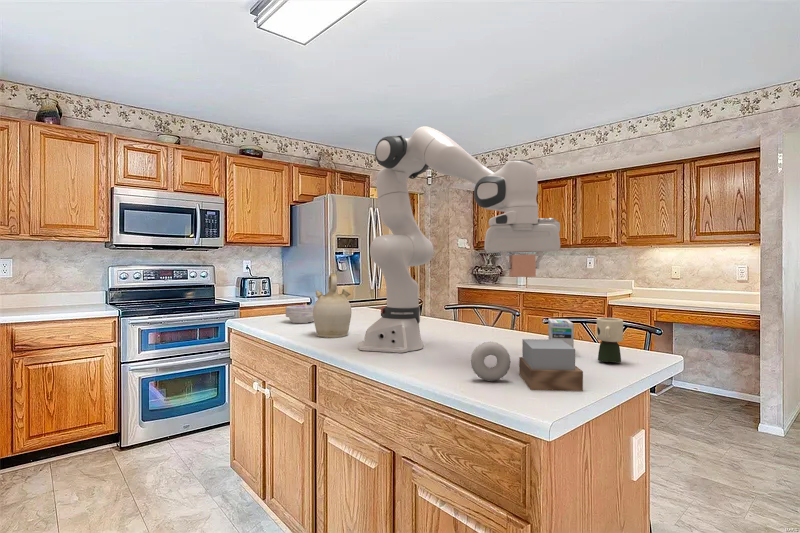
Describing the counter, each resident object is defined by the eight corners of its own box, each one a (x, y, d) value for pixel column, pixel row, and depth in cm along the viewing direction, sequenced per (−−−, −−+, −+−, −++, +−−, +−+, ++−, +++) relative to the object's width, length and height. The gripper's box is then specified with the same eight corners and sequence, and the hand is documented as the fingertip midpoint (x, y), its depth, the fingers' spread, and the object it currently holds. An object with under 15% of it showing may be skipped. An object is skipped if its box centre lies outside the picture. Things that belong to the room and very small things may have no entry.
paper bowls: (302, 319, 226) (302, 303, 226) (324, 321, 217) (324, 305, 217) (278, 322, 214) (278, 306, 214) (300, 325, 205) (300, 308, 205)
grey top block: (532, 369, 107) (532, 348, 107) (522, 357, 119) (522, 339, 119) (575, 370, 106) (575, 349, 106) (561, 358, 118) (561, 339, 118)
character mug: (599, 357, 140) (599, 316, 139) (624, 360, 136) (625, 317, 136) (593, 364, 131) (593, 320, 130) (620, 367, 127) (620, 322, 126)
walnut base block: (530, 391, 106) (530, 370, 106) (519, 375, 120) (519, 357, 120) (582, 392, 105) (582, 371, 105) (565, 376, 119) (565, 358, 119)
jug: (352, 331, 188) (352, 272, 187) (350, 338, 172) (349, 273, 172) (316, 332, 187) (315, 272, 187) (310, 338, 172) (309, 273, 171)
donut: (471, 382, 112) (471, 342, 112) (469, 378, 115) (470, 340, 115) (511, 383, 111) (512, 343, 111) (509, 379, 115) (509, 340, 115)
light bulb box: (574, 357, 140) (574, 323, 140) (551, 356, 142) (551, 322, 141) (568, 350, 151) (568, 318, 150) (547, 349, 152) (547, 318, 152)
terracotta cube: (512, 277, 121) (512, 254, 121) (509, 276, 127) (509, 255, 127) (535, 276, 120) (535, 254, 120) (530, 276, 126) (530, 254, 126)
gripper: (556, 219, 126) (557, 268, 126) (483, 220, 127) (483, 269, 127) (563, 216, 120) (563, 268, 120) (485, 218, 121) (486, 269, 121)
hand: (522, 268), depth 124 cm, fingers closed on terracotta cube, 6 cm apart
